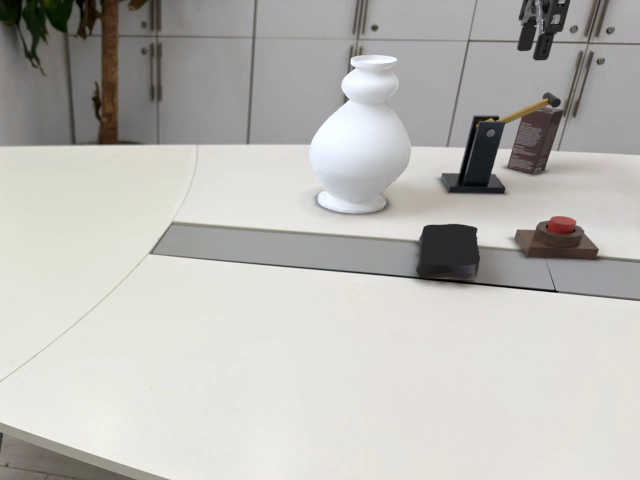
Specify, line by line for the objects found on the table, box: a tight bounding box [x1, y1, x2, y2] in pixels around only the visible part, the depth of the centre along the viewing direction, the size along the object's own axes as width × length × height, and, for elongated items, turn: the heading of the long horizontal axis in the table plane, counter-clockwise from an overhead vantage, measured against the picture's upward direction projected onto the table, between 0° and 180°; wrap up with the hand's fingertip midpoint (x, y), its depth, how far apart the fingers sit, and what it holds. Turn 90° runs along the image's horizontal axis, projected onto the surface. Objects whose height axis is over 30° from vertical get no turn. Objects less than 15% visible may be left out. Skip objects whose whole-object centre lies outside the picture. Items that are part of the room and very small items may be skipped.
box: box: [507, 106, 565, 175], centre depth 136 cm, size 6×4×12 cm
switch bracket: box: [440, 114, 506, 195], centre depth 129 cm, size 10×8×13 cm
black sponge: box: [415, 223, 481, 281], centre depth 105 cm, size 16×8×4 cm, turn 159°
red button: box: [547, 215, 577, 234], centre depth 107 cm, size 4×4×2 cm
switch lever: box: [476, 91, 562, 128], centre depth 124 cm, size 13×5×2 cm, turn 79°
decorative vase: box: [308, 54, 412, 215], centre depth 122 cm, size 18×18×25 cm
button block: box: [514, 220, 600, 260], centre depth 108 cm, size 10×7×4 cm
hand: (531, 55), depth 115 cm, fingers open, 8 cm apart
